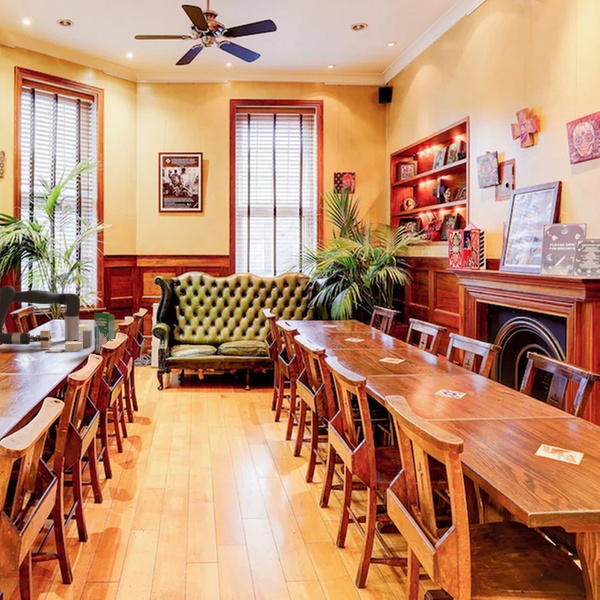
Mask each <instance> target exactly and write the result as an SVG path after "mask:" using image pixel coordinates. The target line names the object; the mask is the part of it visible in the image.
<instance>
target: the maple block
mask: <svg viewBox="0 0 600 600" xmlns="http://www.w3.org/2000/svg"><path fill="white" fill-rule="evenodd" d="M39 335H40V337H49V341H40V342H39V343H40V344H39V345H40V349H50V348H51V343H52V342H51V341H52V338H51V339H50V336H51V329H42V330H40V332H39Z"/></svg>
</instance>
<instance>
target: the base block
mask: <svg viewBox="0 0 600 600" xmlns="http://www.w3.org/2000/svg"><path fill="white" fill-rule="evenodd" d="M82 349H83V350H84V348H83V340H78V341H65V343H64V352H65V351H66V352H75V351H74V350H82ZM83 350H82V351H83Z"/></svg>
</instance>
